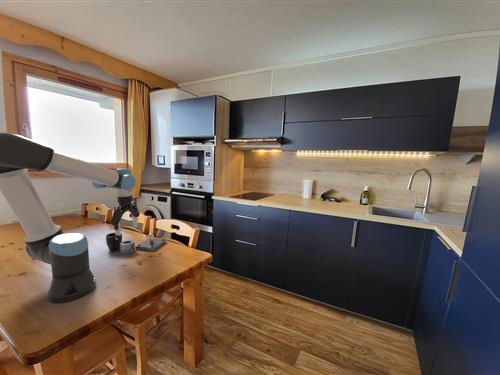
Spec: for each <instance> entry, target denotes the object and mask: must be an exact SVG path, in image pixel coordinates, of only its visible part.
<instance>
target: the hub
mask: <svg viewBox="0 0 500 375" xmlns="http://www.w3.org/2000/svg"><path fill="white" fill-rule="evenodd" d="M135 243H136V242H135V240H134V239H126V240H122V242H120V250H119V252H120V255H124V256H126V255H130V254H131V255H132V254H133V253H135V252H136V249H135V246H136V244H135Z"/></svg>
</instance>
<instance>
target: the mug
mask: <svg viewBox="0 0 500 375" xmlns="http://www.w3.org/2000/svg"><path fill="white" fill-rule="evenodd" d="M122 241H123V233H122V232H121V235H115V232H110V233H106V235H105V243H106V246H107V248H108V250H109V252H117V251H120V242H122Z"/></svg>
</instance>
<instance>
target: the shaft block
mask: <svg viewBox="0 0 500 375" xmlns="http://www.w3.org/2000/svg"><path fill="white" fill-rule="evenodd" d="M154 236H155V235H154V234H153V233H152V232H151V233H149V234H148V238H147V239H146V240H144V241H143V242H141V243H139V244H137V245H135V251H136V250H138V251H146V252H147V251H149V252H150V251H151V252H155V251H156V250H157V249H160V247H162V246H163V245H165V244H166V243H167V239H164V238H155V237H154ZM164 243H165V244H164Z"/></svg>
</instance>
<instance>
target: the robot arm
mask: <svg viewBox="0 0 500 375" xmlns="http://www.w3.org/2000/svg"><path fill="white" fill-rule="evenodd" d="M29 170H32V171H36V172H45V171H48V172H53V173H55V174H56V173H57V174H61V175H64V176H68V177H72V178H77V179H79V180H83V181H86V182H87V181H88V182H91V184H92V186H93V188H95V189H105V188H107V189H116V195H117V196H116V197H117V198H116V199H117V200H116V201H117V203H118V205H115V206H114V208H113V209H114V210H113V213H112V217H111V220H110V224H111V225H113V228H114V230H115V231H114V233H115V235H121V233H122V232H121V223H120V221H122V218H123V215H125V213H127V212H129V213H130V214H131V215H132V216H131V218H132V219H131V220H132V228H138V227H139V226H138V222H139V221H138V218H139V217H140V215H141V214H140V211H139V209H138V207H137V204H136V201H134V200H133V198H134V197H133V189H134V188H135V187H136V184H137V180H136V177H135V176H134V175H132V170H131V169H130V168H116V169H115V170H112V169H109V168H106V167H103V166H101V165H98V164H94V163H91V162H89V161H85V160H82V159H79V158H76V157H74V156H71V155H68V154H65V153H61V152H58V151H55V149H54V148H53V147H52V146H50V145H47V144H43V143H41V142H38V141H37V140H33V139H30V138H28V137H24V136H22V135H19V134H15V133H12V132H0V191H1V192H0V193H1V194H2V196H3V197H4V199H5V200H6V201H7V204H8V205H9V207H10V209H11V211H12V212H13V214H14V215H15V217H16V219H17V220H18V222H19V224H20V225H21V227H22V229H23V231H24V233H25V236H24V238H23V241H24V244H25V252H26V253H27V255H28V256H29V257H30V258H31V259H32V260H35V261H39V262H42V263H45V264H48V265H50V267H51V276H52V278H51V283H50V286H49V289H48V292H47V299H48V301H49V302H51V303H53V304H54V303H55V304H60V303H68V302H71V301H75V300H77V299H80V298H83V297H84V296H86V295H89V293H91V292H92V291H94V289H96V287H97V282H96V277H95V276H94V274H93V272H92V270H91V268H90V258H89V257H90V255H89V241H88V239H87V236H86V235H84V234H83V233H80V232H79V233H78V232H74V233H72V232H70V233H69V232H68V233H64V231H63V228H62V227H61V225H58V224H55V223H54V221H53V219H52V218H51V216H50V214H49V212H48V209H47V208H46V205H45V204H44V202H43V200H42V198H41V196H40V195H39V193H38V191H37V189H36V187H35V185H34V183H33V181H32V179H31V177H30V175H29V173H28V171H29Z"/></svg>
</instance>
